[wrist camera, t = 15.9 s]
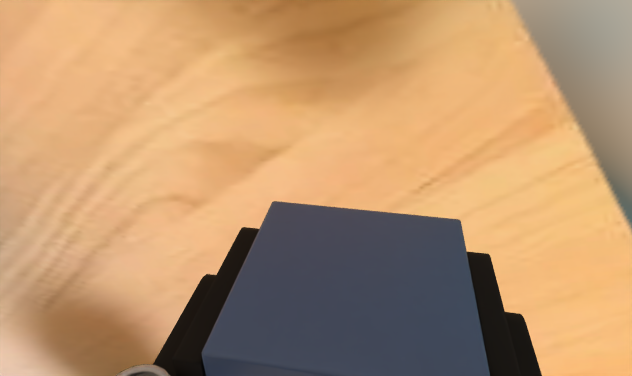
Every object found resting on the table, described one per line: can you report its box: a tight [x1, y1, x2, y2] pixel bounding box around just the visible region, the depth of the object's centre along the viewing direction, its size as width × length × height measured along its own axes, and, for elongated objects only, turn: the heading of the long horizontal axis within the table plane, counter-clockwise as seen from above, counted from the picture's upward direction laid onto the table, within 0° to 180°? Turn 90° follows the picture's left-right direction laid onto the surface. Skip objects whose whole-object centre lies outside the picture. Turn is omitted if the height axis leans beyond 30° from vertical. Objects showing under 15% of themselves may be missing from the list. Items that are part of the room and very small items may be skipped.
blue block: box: [202, 201, 490, 376], centre depth 9 cm, size 4×4×4 cm
